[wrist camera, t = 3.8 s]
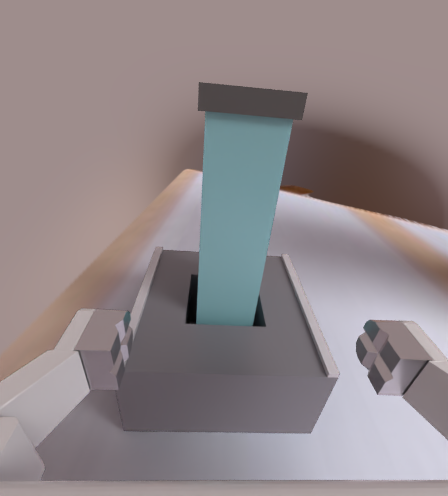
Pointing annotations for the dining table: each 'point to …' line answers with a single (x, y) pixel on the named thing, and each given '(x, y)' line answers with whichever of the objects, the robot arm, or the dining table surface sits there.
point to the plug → (239, 194)
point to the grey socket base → (223, 357)
